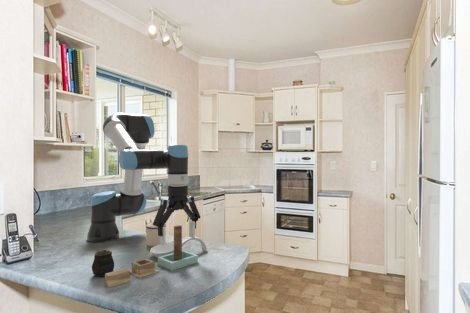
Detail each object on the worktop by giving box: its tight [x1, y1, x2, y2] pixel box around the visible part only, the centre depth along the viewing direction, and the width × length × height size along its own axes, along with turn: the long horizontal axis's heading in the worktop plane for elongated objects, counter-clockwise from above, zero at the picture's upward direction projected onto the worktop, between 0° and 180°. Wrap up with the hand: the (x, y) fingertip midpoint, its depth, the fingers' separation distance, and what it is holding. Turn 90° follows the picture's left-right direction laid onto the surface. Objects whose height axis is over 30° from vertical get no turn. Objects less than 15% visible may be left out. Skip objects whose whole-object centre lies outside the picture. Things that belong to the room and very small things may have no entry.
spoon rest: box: [149, 235, 208, 259], centre depth 131 cm, size 24×12×7 cm, turn 117°
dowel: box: [173, 224, 183, 261], centre depth 119 cm, size 3×3×14 cm
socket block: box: [129, 257, 160, 279], centre depth 111 cm, size 8×8×4 cm
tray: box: [157, 249, 199, 272], centre depth 119 cm, size 9×12×3 cm
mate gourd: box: [91, 249, 115, 278], centre depth 109 cm, size 7×8×10 cm
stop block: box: [104, 267, 131, 288], centre depth 101 cm, size 3×7×4 cm, turn 136°
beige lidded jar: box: [145, 220, 167, 247], centre depth 147 cm, size 12×9×12 cm
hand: (177, 240), depth 119 cm, fingers open, 13 cm apart
